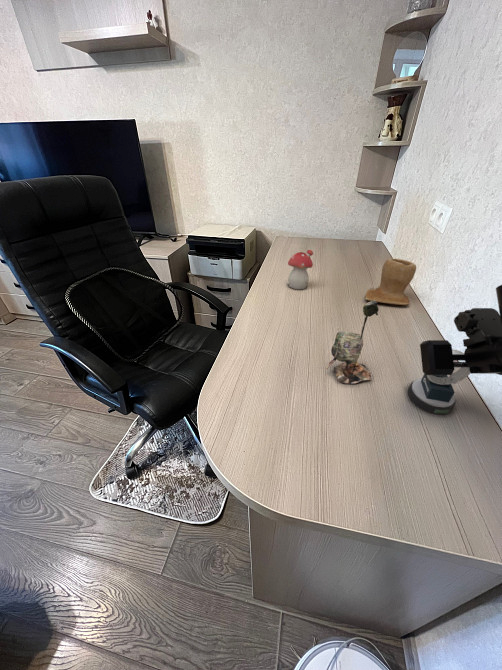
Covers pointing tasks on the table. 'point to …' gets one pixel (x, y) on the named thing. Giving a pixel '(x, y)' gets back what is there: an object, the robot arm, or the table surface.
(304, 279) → the decorative ornament
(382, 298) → the brown suede boot
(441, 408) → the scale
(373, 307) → the plant with pod
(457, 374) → the watch
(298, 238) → the table surface
